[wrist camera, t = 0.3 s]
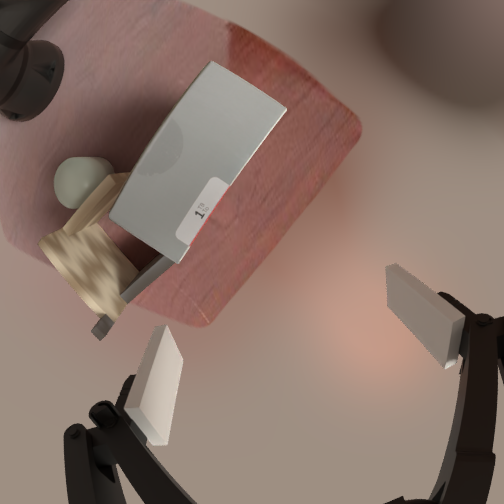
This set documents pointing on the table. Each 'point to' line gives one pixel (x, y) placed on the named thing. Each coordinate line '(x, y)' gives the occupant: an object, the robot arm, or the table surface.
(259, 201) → the table surface
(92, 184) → the pale green rounded part
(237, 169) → the hard drive box
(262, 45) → the table surface
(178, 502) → the robot arm
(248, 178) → the table surface
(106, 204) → the shelf bay
